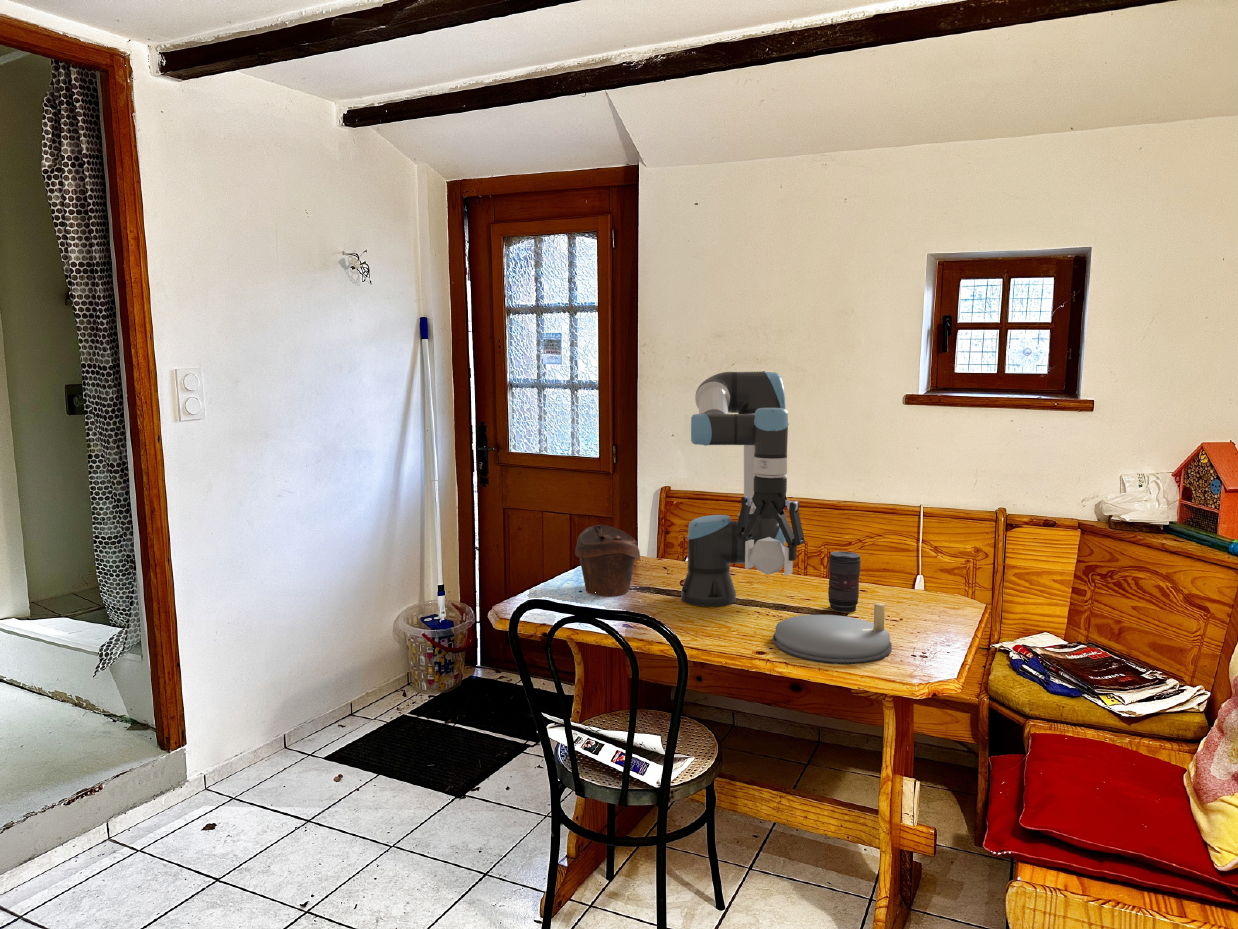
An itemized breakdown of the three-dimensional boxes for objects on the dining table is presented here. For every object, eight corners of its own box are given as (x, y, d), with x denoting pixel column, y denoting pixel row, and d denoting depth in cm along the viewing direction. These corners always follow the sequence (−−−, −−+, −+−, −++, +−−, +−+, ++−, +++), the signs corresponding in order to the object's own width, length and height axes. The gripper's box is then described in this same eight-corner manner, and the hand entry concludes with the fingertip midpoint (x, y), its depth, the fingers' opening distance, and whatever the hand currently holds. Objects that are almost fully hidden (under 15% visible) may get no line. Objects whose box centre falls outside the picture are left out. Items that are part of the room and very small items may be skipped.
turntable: (795, 661, 186) (796, 625, 185) (762, 624, 212) (762, 593, 211) (909, 656, 189) (910, 621, 188) (862, 620, 215) (863, 589, 214)
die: (764, 568, 204) (742, 538, 202) (796, 553, 201) (774, 523, 198) (762, 588, 197) (740, 557, 195) (795, 573, 194) (772, 542, 191)
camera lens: (860, 614, 224) (861, 558, 222) (828, 612, 226) (829, 556, 224) (857, 605, 232) (859, 551, 230) (827, 603, 233) (828, 550, 232)
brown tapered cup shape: (621, 604, 234) (621, 539, 231) (562, 593, 244) (561, 532, 242) (653, 588, 249) (653, 528, 246) (596, 579, 259) (595, 521, 257)
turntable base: (753, 648, 197) (753, 644, 197) (800, 619, 219) (800, 615, 219) (868, 673, 182) (868, 668, 182) (906, 639, 204) (906, 635, 204)
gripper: (720, 473, 199) (719, 567, 202) (807, 481, 186) (805, 581, 189) (736, 470, 205) (735, 561, 208) (822, 477, 192) (819, 574, 194)
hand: (768, 570), depth 198 cm, fingers closed on die, 9 cm apart
